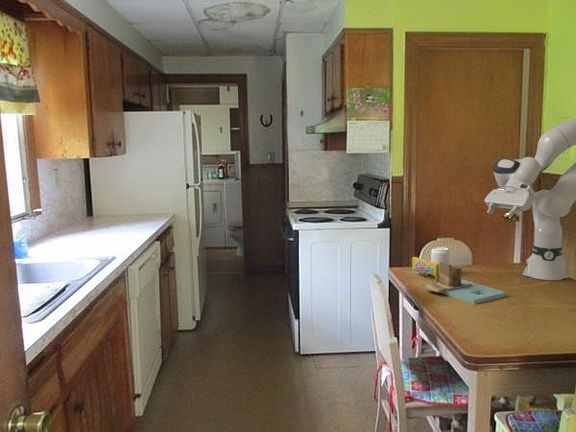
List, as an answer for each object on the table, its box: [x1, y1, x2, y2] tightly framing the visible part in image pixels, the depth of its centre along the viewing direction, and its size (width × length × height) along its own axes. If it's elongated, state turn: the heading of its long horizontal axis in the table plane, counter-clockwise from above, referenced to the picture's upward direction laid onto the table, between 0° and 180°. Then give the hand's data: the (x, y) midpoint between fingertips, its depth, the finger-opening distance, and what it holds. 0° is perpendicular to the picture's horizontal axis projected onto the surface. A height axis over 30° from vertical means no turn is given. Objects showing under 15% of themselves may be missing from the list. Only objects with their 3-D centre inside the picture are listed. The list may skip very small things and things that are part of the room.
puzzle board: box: [429, 278, 507, 305], centre depth 207 cm, size 18×23×3 cm
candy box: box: [411, 256, 440, 283], centre depth 233 cm, size 16×2×8 cm, turn 27°
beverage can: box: [430, 246, 450, 276], centre depth 239 cm, size 8×8×12 cm
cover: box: [422, 262, 454, 293], centre depth 207 cm, size 9×8×10 cm
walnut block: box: [451, 266, 463, 287], centre depth 212 cm, size 4×4×9 cm
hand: (498, 214), depth 212 cm, fingers open, 8 cm apart
